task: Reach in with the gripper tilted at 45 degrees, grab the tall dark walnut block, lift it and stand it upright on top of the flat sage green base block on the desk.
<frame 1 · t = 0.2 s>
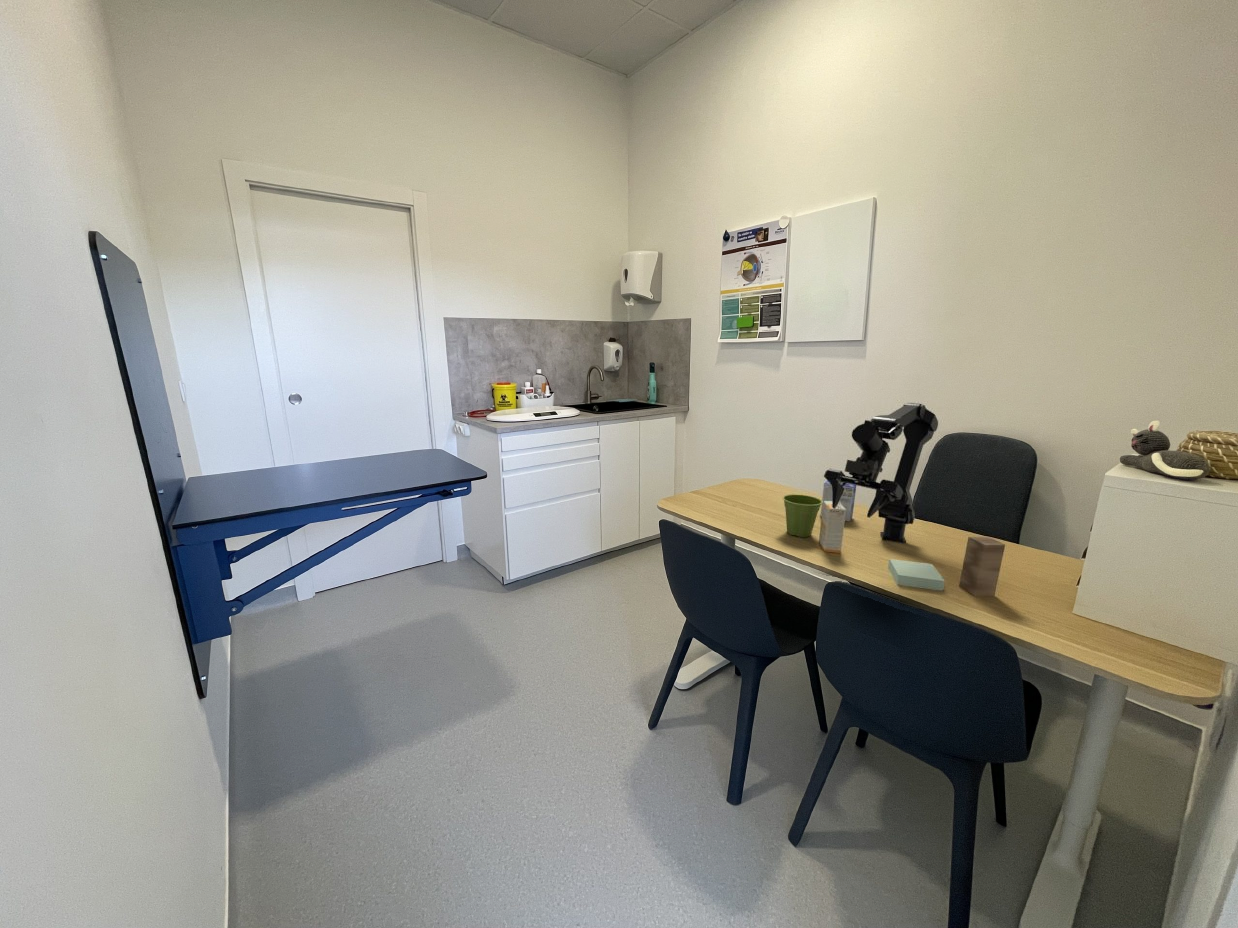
hand: (850, 512, 128), 15 cm above the table, tool tilted 35°, fingers open, 9 cm apart
ink cartridge box: (836, 517, 169), on the table
supplement box: (829, 547, 143), on the table
walnut block: (976, 590, 118), on the table
sage green base block: (913, 580, 124), on the table
plant pot: (798, 533, 154), on the table
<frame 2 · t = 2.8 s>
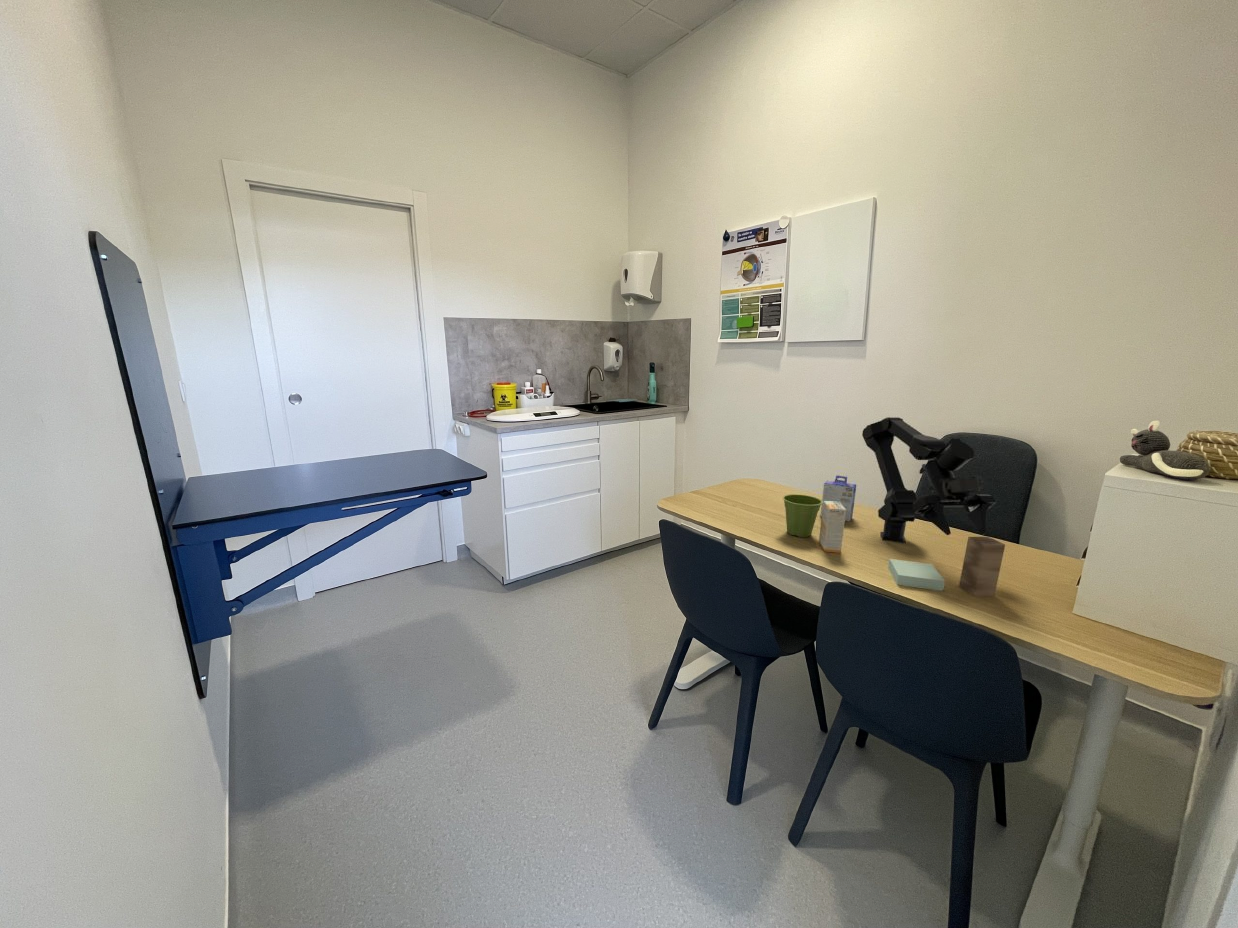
hand: (966, 534, 121), 12 cm above the table, tool tilted 45°, fingers open, 9 cm apart
nothing on the table moved.
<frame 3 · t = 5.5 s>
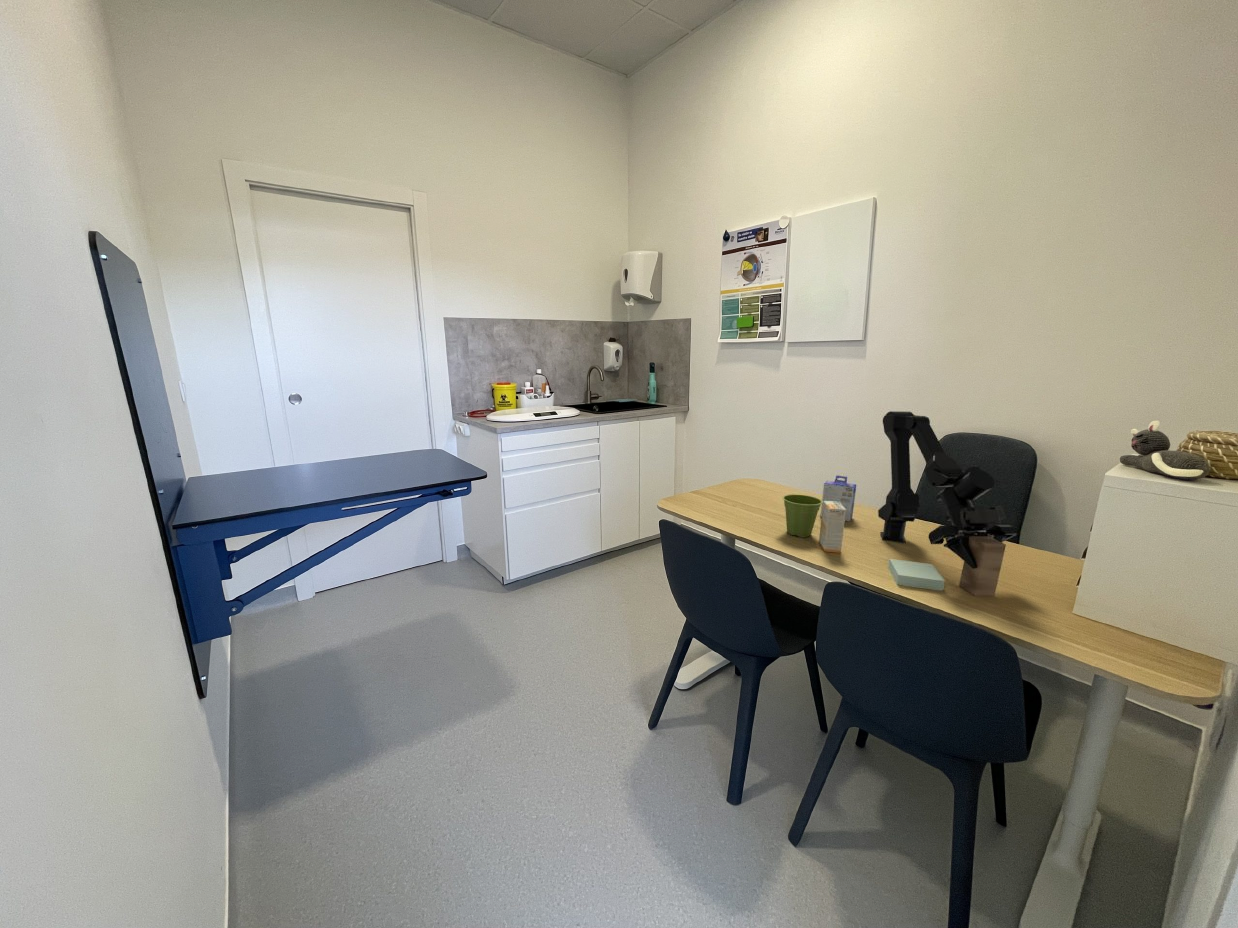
hand: (986, 567, 115), 7 cm above the table, tool tilted 45°, fingers closed on walnut block, 5 cm apart
walnut block: (976, 590, 118), on the table, touching gripper
everything else where it was.
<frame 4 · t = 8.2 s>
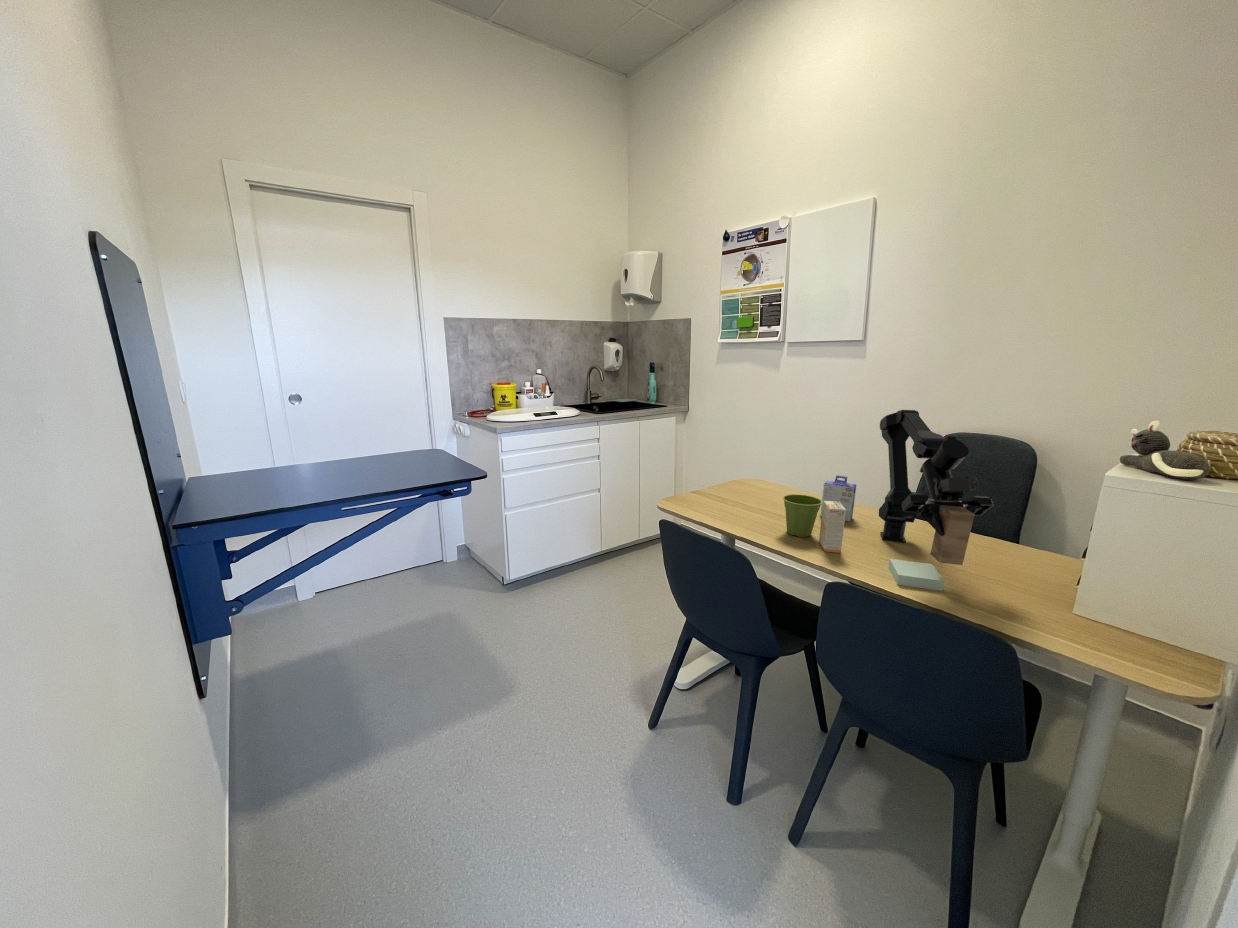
hand: (954, 536, 116), 13 cm above the table, tool tilted 45°, fingers closed on walnut block, 5 cm apart
walnut block: (946, 559, 119), point 7 cm above the table, touching gripper
everything else where it was.
when the fingers open (11 cm above the table, at t = 11.2 s): walnut block drops 2 cm, point 3 cm above the table.
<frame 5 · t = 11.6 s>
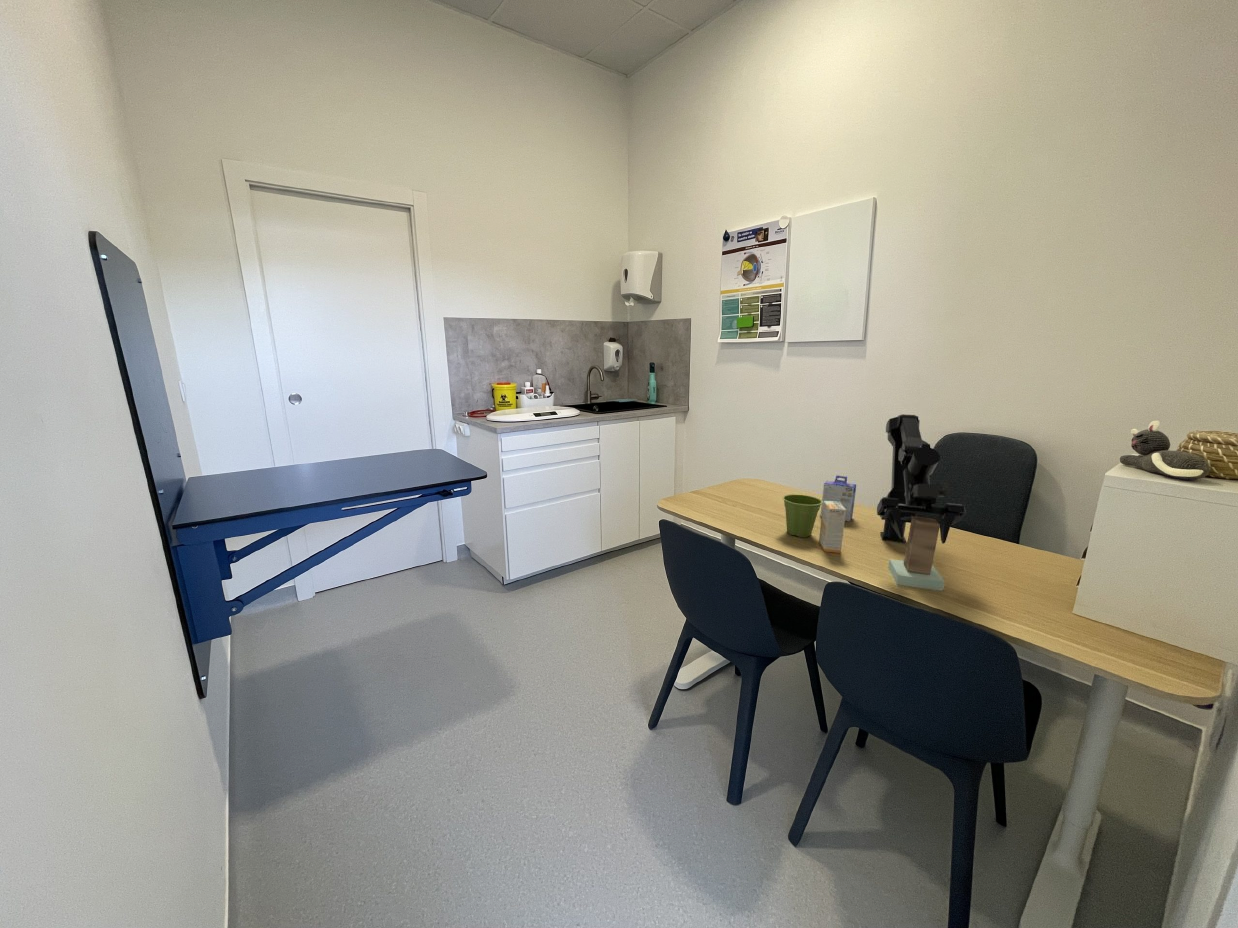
hand: (922, 540, 120), 11 cm above the table, tool tilted 45°, fingers open, 9 cm apart
walnut block: (916, 568, 124), point 3 cm above the table
everything else where it was.
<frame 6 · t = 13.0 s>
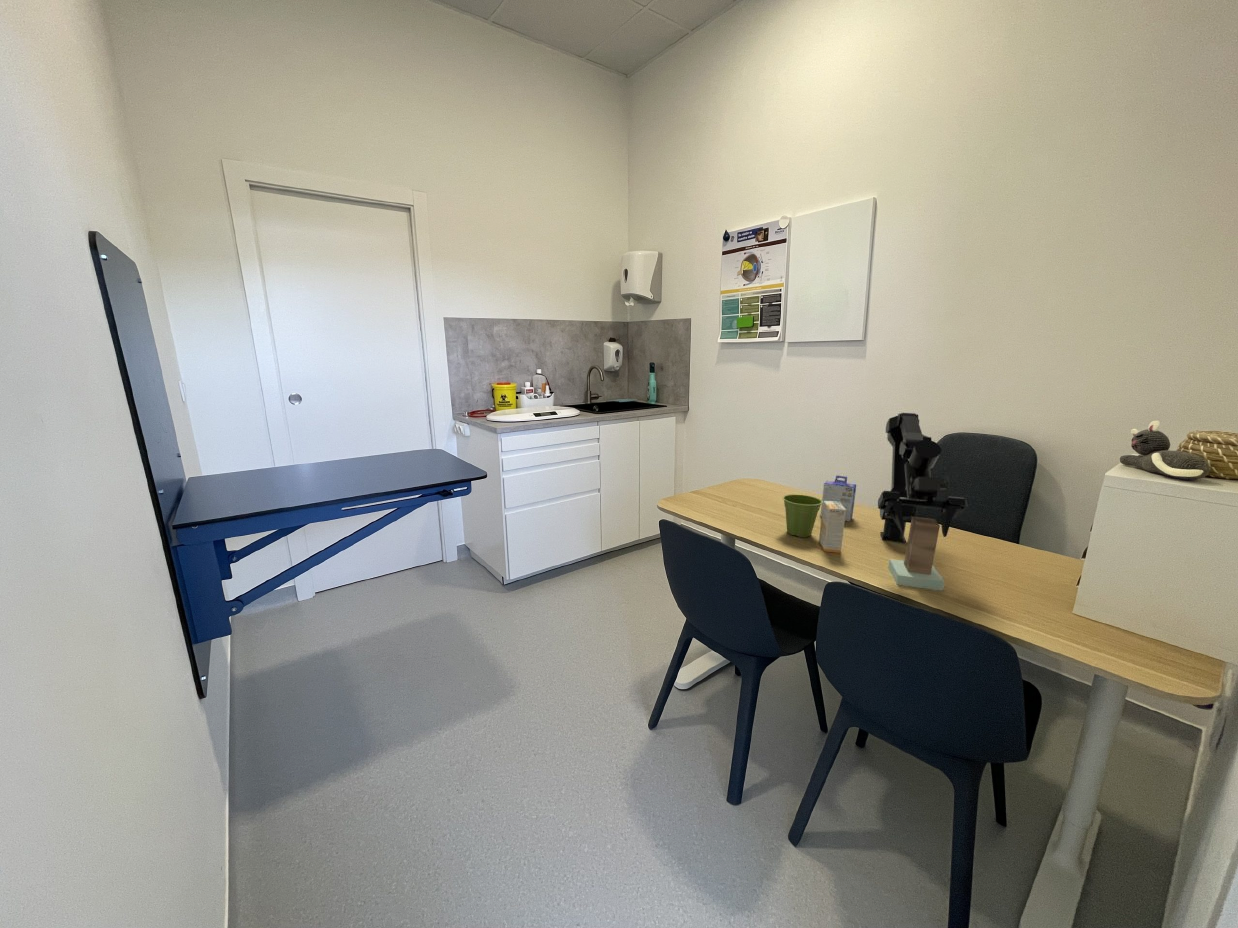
hand: (923, 533, 120), 13 cm above the table, tool tilted 45°, fingers open, 9 cm apart
walnut block: (916, 569, 124), point 2 cm above the table, touching sage green base block
sage green base block: (913, 580, 124), on the table, touching walnut block
everything else where it was.
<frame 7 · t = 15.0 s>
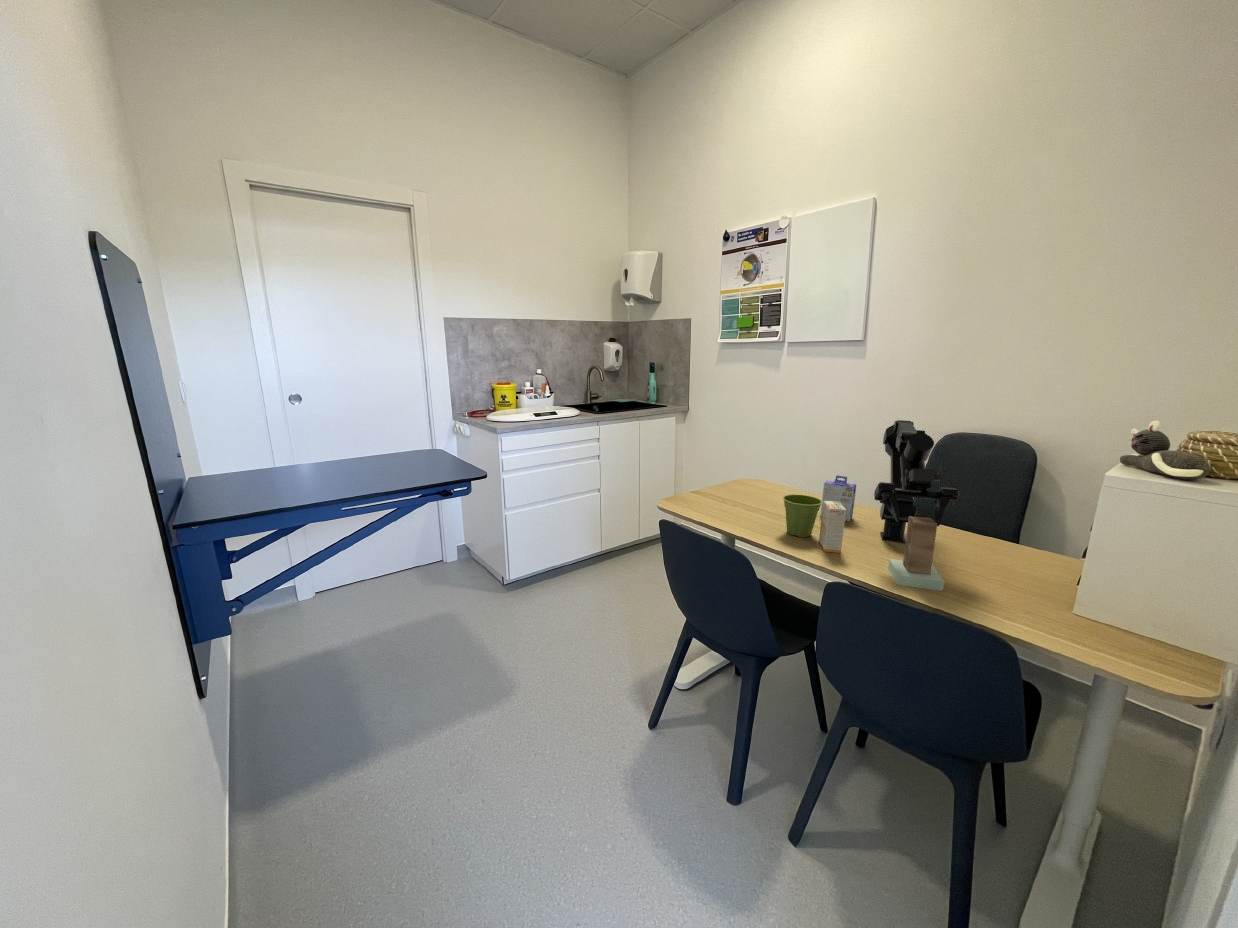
hand: (918, 523, 125), 13 cm above the table, tool tilted 45°, fingers open, 9 cm apart
nothing on the table moved.
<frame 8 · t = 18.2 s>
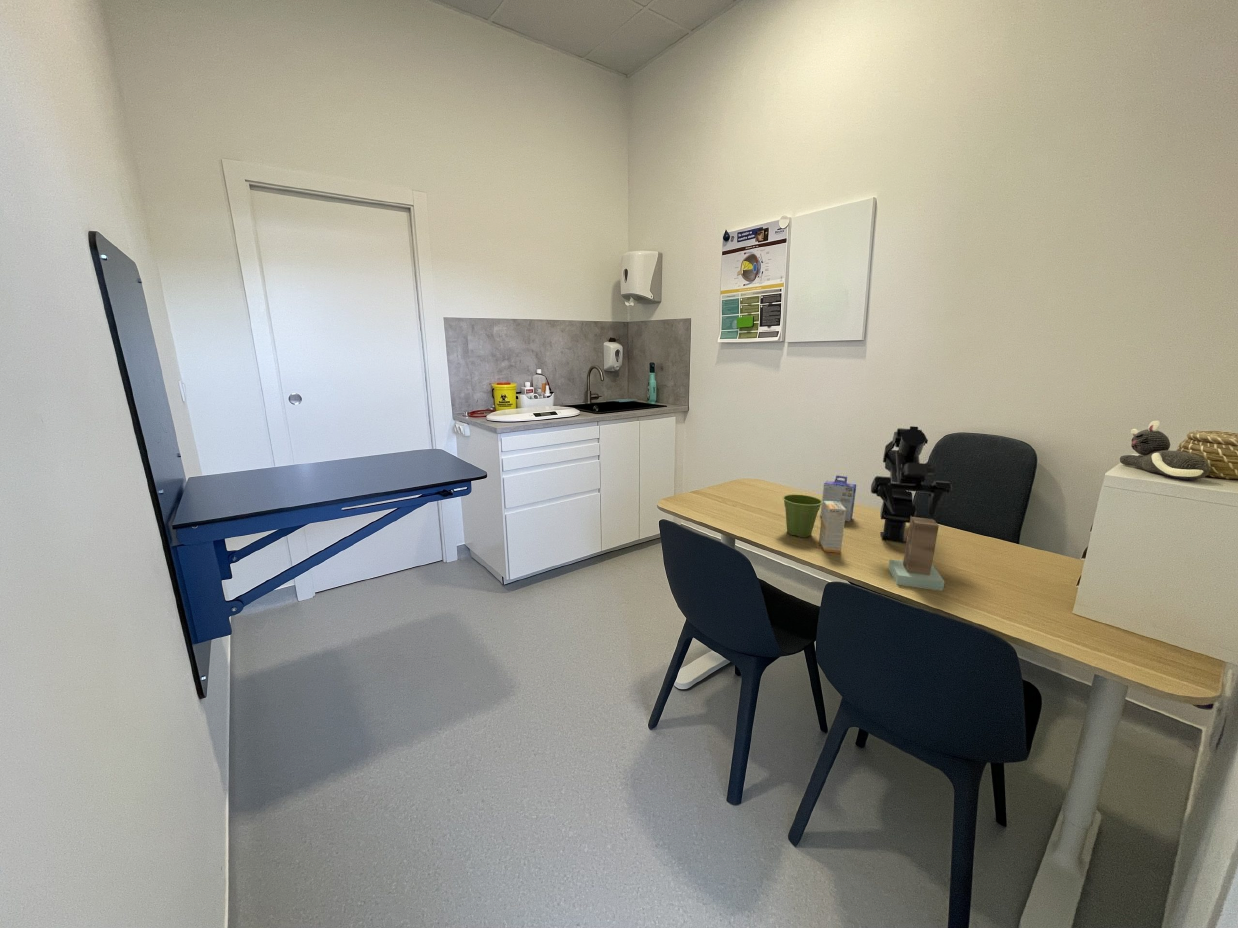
hand: (912, 515, 131), 14 cm above the table, tool tilted 45°, fingers open, 9 cm apart
nothing on the table moved.
at the end: walnut block inside the target area on the sage green base block (0.1 cm from its centre), point 3.1 cm above the sage green base block's base; walnut block tilted 1°; walnut block touching sage green base block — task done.
